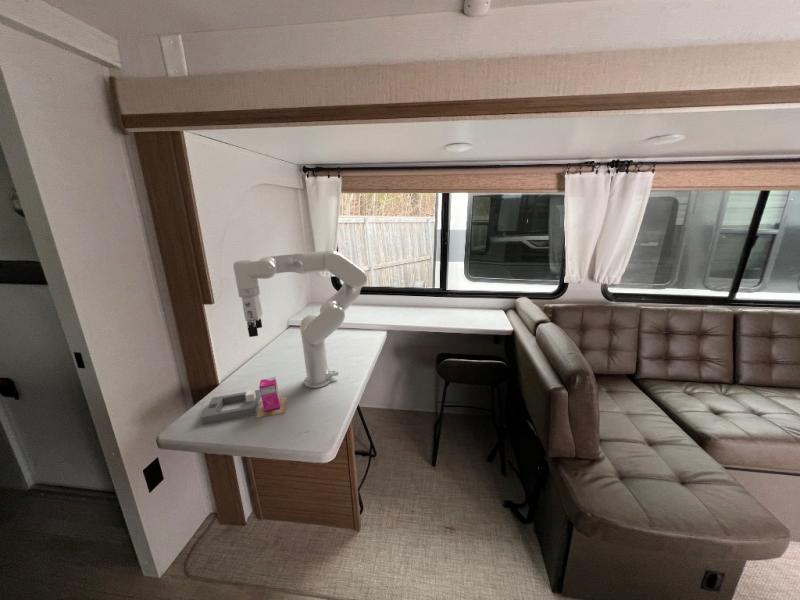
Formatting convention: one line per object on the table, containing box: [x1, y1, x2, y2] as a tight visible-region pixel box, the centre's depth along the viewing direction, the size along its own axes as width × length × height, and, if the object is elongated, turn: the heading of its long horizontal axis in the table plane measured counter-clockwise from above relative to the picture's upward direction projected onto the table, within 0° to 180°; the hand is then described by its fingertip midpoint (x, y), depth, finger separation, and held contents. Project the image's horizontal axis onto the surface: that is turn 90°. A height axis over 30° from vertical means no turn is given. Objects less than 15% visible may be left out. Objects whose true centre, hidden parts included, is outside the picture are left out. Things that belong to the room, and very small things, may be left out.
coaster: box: [256, 397, 287, 419], centre depth 118 cm, size 10×10×1 cm
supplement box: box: [258, 376, 281, 412], centre depth 116 cm, size 6×6×12 cm
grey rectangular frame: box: [200, 389, 261, 425], centre depth 117 cm, size 18×13×6 cm
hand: (256, 331), depth 121 cm, fingers open, 9 cm apart
